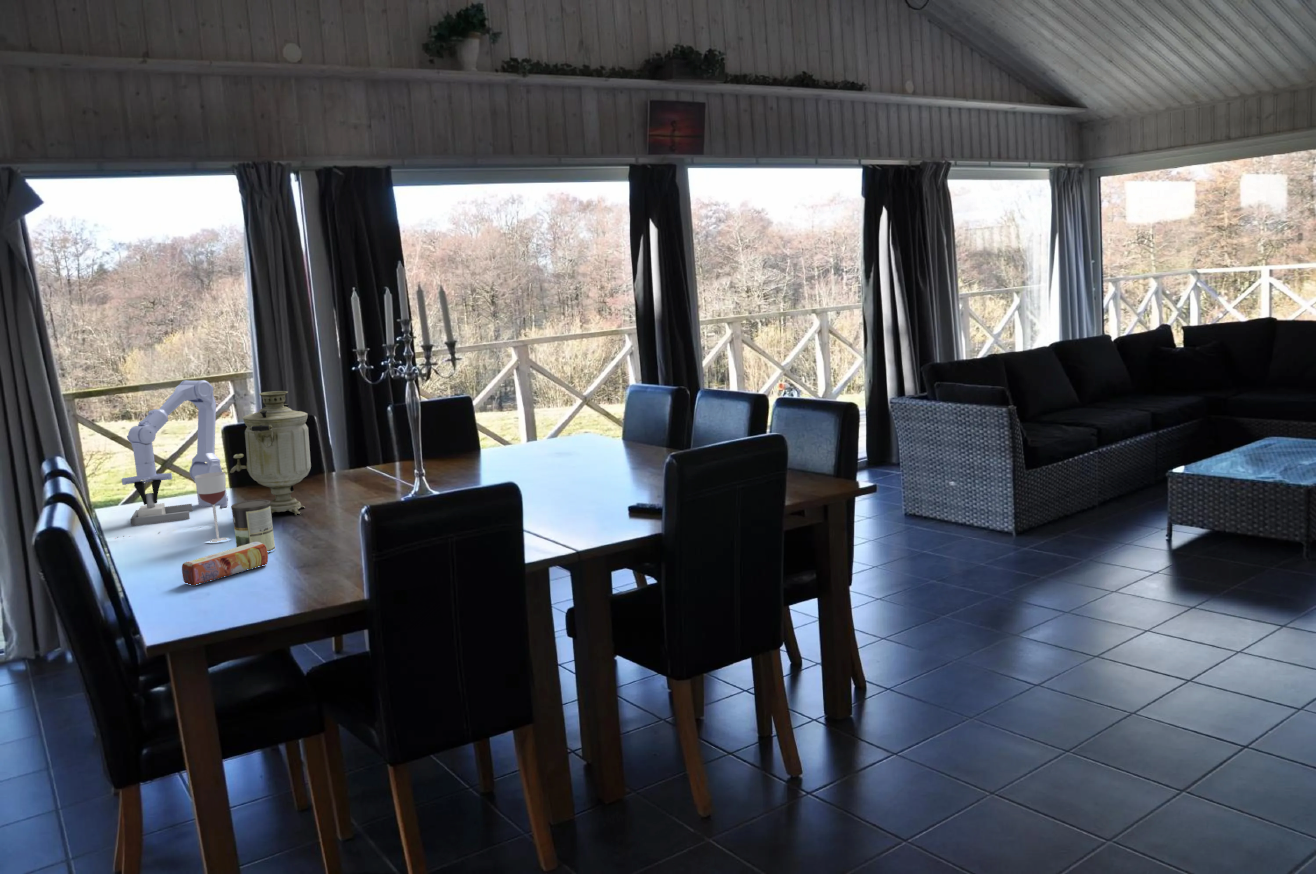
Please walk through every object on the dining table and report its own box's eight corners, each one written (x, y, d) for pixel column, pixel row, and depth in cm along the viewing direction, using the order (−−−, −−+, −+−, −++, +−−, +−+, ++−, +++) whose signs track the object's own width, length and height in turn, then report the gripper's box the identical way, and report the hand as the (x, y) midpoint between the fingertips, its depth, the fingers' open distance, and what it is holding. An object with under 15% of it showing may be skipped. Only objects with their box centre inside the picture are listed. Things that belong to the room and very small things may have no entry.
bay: (193, 513, 349) (191, 503, 348) (189, 522, 336) (188, 511, 335) (137, 520, 343) (135, 510, 343) (132, 529, 330) (130, 518, 330)
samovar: (267, 502, 360) (254, 388, 354) (336, 502, 355) (324, 386, 348) (215, 524, 331) (199, 400, 325) (289, 523, 326) (274, 397, 320)
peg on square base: (165, 514, 344) (162, 489, 342) (163, 520, 335) (159, 494, 334) (142, 517, 341) (139, 492, 340) (139, 523, 333) (135, 497, 332)
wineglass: (239, 537, 311) (231, 472, 308) (218, 545, 303) (210, 478, 300) (218, 536, 314) (209, 471, 311) (196, 544, 306) (188, 478, 303)
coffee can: (232, 558, 287) (225, 508, 285) (243, 548, 297) (237, 500, 295) (270, 555, 288) (264, 506, 286) (280, 546, 298) (274, 498, 296)
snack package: (195, 588, 261) (191, 562, 260) (181, 585, 265) (178, 559, 264) (270, 566, 277) (267, 542, 276) (257, 563, 281) (254, 539, 280)
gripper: (118, 467, 329) (124, 508, 331) (168, 461, 334) (173, 503, 336) (121, 463, 336) (127, 504, 338) (170, 458, 341) (175, 498, 343)
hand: (150, 503), depth 338 cm, fingers closed on peg on square base, 2 cm apart
